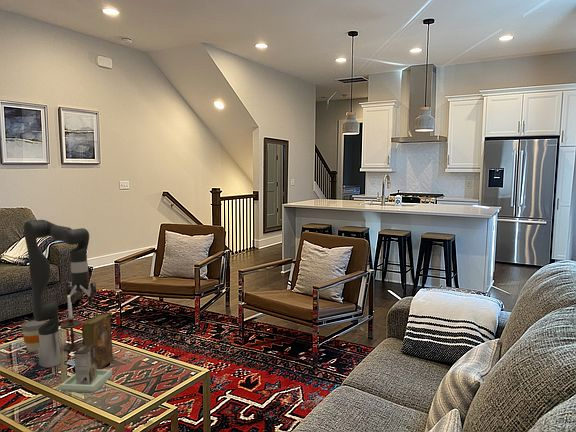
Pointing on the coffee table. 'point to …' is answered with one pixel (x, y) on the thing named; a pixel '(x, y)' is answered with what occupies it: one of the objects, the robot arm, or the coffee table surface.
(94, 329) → the book
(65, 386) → the tray
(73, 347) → the candlestick
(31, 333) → the reusable coffee cup
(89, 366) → the coffee box
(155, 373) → the coffee table surface
